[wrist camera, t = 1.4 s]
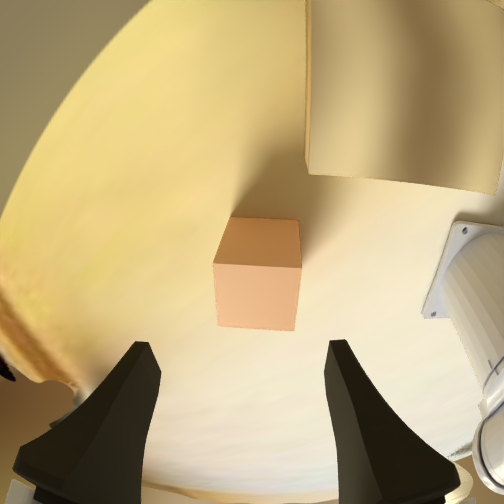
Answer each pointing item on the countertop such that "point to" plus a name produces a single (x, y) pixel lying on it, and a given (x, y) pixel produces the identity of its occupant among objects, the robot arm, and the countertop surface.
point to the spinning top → (463, 489)
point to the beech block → (406, 91)
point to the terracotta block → (258, 274)
